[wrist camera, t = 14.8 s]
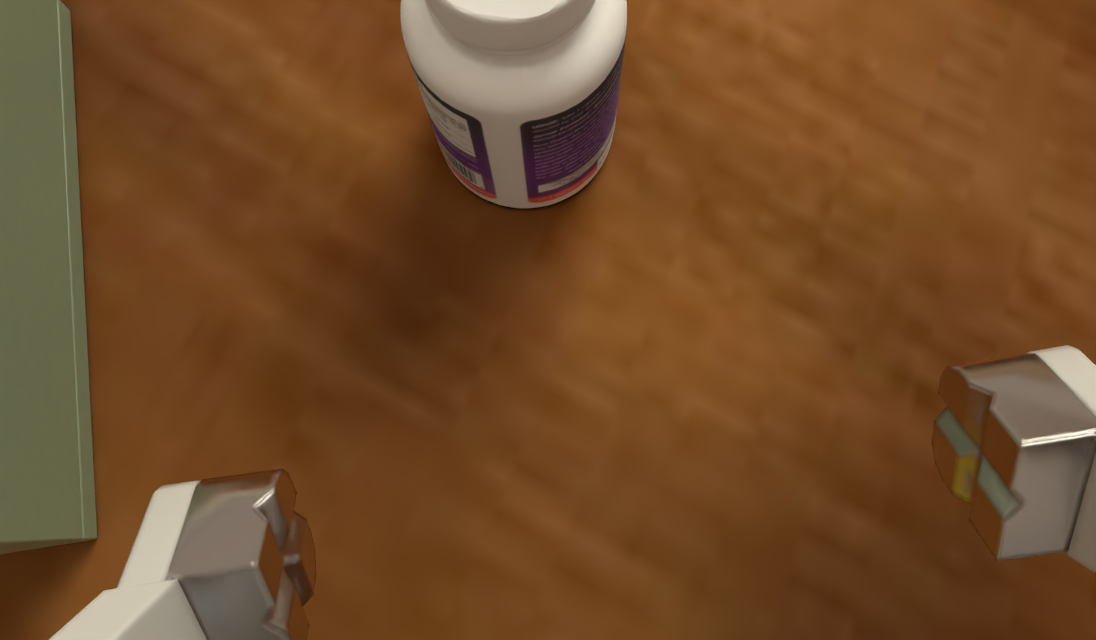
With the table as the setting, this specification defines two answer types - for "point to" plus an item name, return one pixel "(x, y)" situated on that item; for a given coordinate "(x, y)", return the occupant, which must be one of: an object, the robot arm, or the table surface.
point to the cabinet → (41, 288)
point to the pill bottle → (519, 90)
